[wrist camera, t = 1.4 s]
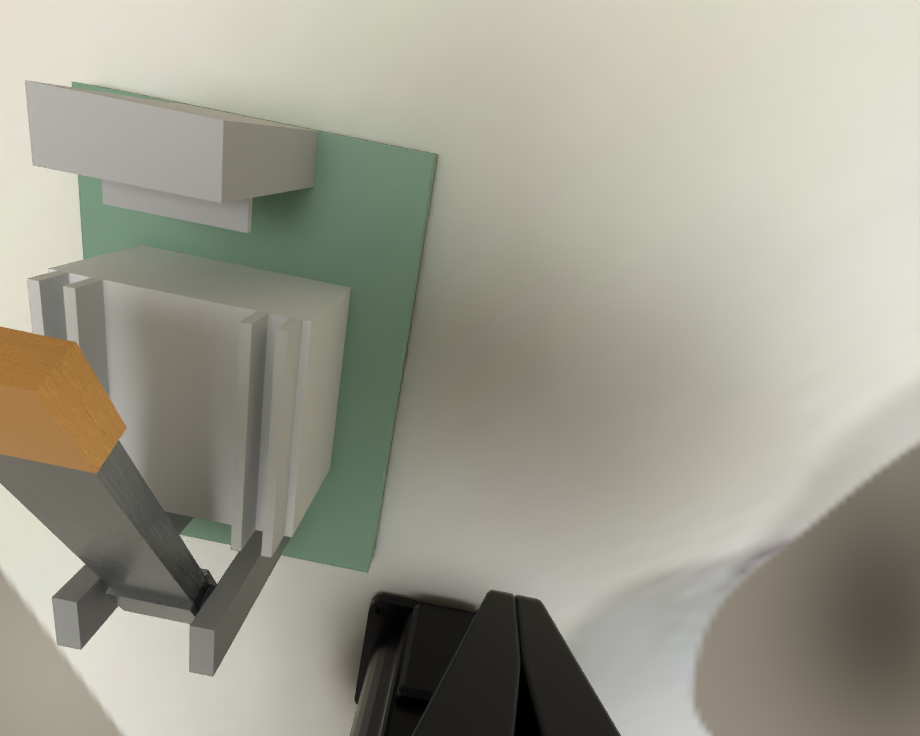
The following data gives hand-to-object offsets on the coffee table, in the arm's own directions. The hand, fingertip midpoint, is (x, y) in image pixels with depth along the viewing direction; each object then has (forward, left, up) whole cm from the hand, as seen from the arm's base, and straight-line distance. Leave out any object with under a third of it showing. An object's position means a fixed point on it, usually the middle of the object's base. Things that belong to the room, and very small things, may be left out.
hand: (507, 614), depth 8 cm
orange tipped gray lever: (-3, +9, -4) cm, 10 cm away
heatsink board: (-2, +9, -12) cm, 15 cm away
